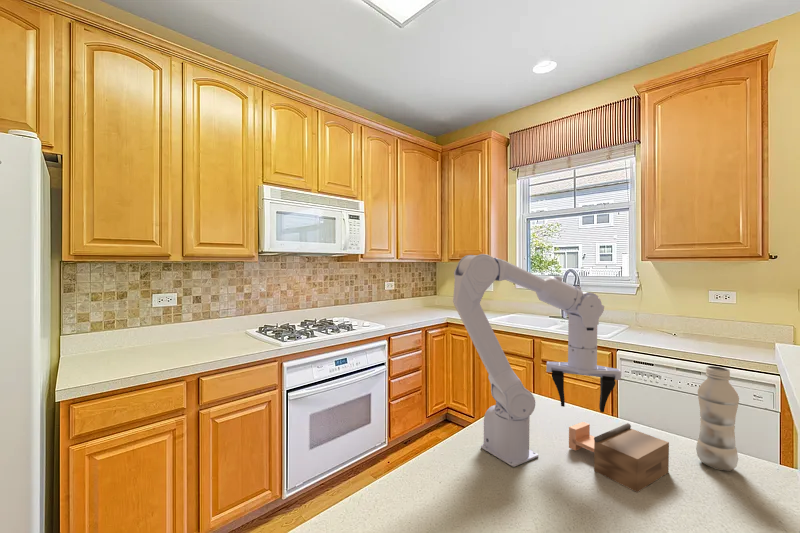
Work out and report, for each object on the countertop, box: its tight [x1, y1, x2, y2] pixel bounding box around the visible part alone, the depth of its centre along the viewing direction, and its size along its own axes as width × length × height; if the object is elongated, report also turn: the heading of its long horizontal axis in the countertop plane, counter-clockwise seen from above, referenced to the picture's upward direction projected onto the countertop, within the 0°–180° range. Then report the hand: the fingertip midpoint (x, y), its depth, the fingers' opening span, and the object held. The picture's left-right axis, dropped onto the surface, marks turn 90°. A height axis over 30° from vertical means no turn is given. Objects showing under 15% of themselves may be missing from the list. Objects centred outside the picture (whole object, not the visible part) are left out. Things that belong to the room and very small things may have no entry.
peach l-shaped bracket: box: [568, 421, 595, 453], centre depth 78 cm, size 14×5×5 cm, turn 32°
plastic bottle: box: [695, 365, 740, 472], centre depth 75 cm, size 6×7×20 cm
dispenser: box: [593, 422, 670, 493], centre depth 73 cm, size 8×12×7 cm
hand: (581, 407), depth 82 cm, fingers open, 7 cm apart
